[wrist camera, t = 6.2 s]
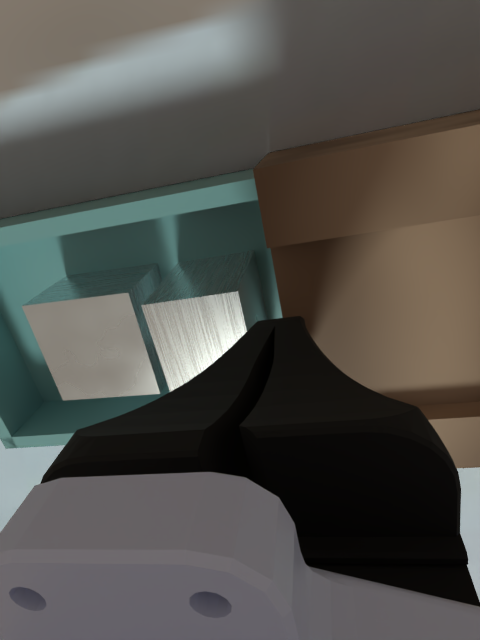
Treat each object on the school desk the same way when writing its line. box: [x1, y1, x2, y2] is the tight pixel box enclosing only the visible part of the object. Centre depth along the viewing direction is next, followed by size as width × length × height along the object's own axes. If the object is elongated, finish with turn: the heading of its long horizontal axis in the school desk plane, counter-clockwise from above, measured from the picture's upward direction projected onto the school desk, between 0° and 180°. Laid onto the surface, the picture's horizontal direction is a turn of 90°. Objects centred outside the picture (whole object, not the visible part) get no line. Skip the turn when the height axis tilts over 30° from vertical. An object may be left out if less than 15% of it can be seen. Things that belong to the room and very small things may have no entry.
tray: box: [0, 168, 282, 449], centre depth 16 cm, size 13×9×3 cm
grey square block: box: [141, 250, 268, 392], centre depth 15 cm, size 4×4×3 cm
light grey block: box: [22, 263, 167, 401], centre depth 16 cm, size 4×4×3 cm
